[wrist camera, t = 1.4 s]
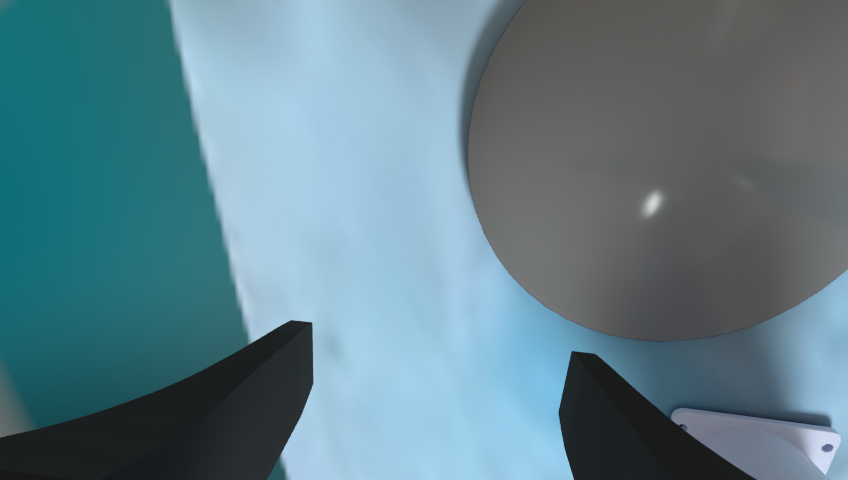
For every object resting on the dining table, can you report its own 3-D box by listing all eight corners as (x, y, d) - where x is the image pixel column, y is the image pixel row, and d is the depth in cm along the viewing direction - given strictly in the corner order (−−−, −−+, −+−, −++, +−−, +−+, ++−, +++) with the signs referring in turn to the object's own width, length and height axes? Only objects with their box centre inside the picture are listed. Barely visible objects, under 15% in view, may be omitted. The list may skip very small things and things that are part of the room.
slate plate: (821, 351, 21) (837, 363, 20) (452, 308, 23) (450, 317, 22) (1000, -88, 15) (1035, -101, 14) (491, -101, 17) (492, -113, 16)
